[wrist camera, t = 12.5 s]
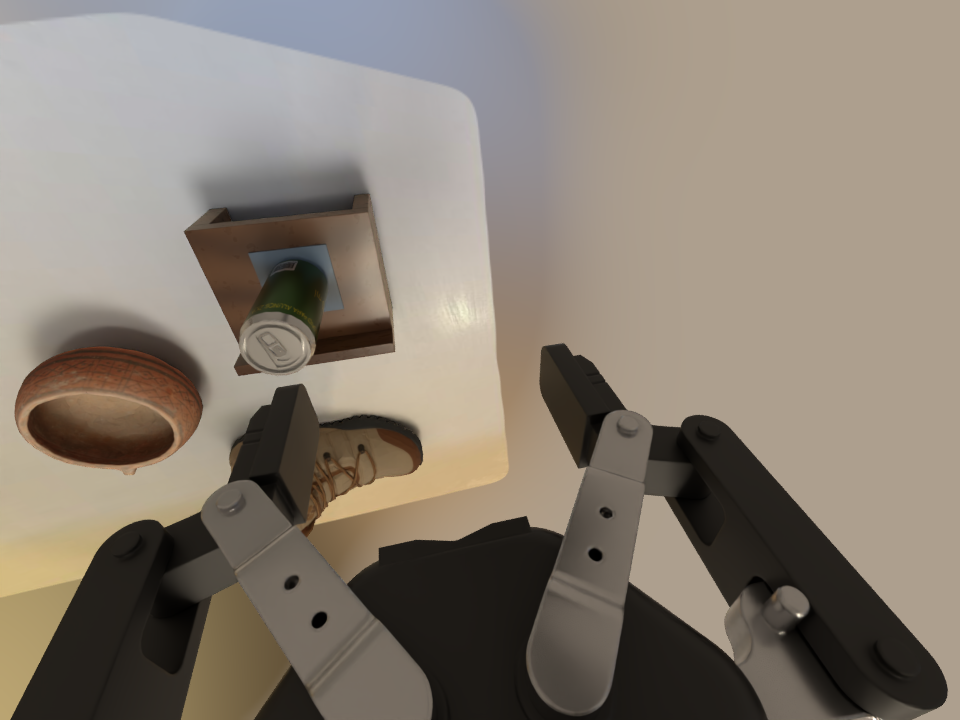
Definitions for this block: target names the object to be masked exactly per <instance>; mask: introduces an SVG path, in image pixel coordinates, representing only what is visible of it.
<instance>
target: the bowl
mask: <svg viewBox="0 0 960 720" xmlns="http://www.w3.org/2000/svg"><path fill="white" fill-rule="evenodd" d="M202 409H203V405H202V400H201V398H200V396H199V393H198V392H197V390H196V388H195V387H194V385H193V383H192V382H191V381H190V380H189V379H188V378H187V377H186V376H185V375H184V374H183V373H182V372H181V371H179V370H178V369H176V368H174V367H172V366H170V365H168V364H167V363H166V362H164V361H162V360H160V359H158V358H156V357H154V356H151V355H149V354H146V353H143V352H139V351H135V350H128V349H121V348H114V347H88V348H80V349H75V350H71V351H67V352H64V353H61V354H58V355H56V356H54V357H52V358H50V359H48V360H46V361H44V362H43V363H41V364H40V365H39V366H37V367H36V368H35V369H34V370H32V371H31V372H30V373H29V374H28V376H27V377H26V378H25V380H24V381H23V383H22V386H21V388H20V390H19V392H18V395H17V399H16V403H15V420H16V424H17V427H18V430H19V432H20V433H21V435H22V436H23V437H24V439H25V440H26V441H27V442H28V443H30V444H31V445H32V446H33V447H34V448H36V449H38V450H39V451H41V452H43V453H45V454H46V455H48V456H50V457H52V458H54V459H57V460H60V461H63V462H66V463H68V464H73V465H79V466H85V467H92V468H102V469H117V470H120V471H122V472H123V473H124V474H125V475H134V474H135V471H136V469H137V468H139V467H143V466H148V465H152V464H155V463H157V462H160V461H162V460H164V459H166V458H167V457H169V456H171V455H172V454H174V453H175V452H176V451H177V450H178V449H179V448H181V447H182V446H183V445H184V444H185V443H186V442H187V440H188V439H189V438H190V437H191V436H192V434H193V433H194V432H195V430H196V428H197V427H198V424H199V422H200V419H201V415H202Z"/></svg>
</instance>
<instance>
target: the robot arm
mask: <svg viewBox="0 0 960 720" xmlns="http://www.w3.org/2000/svg"><path fill="white" fill-rule="evenodd" d="M540 389H541V394H542V397H543V399H544V401H545V403H546V405H547V407H548V409H549V411H550V413H551V414H552V417H553V419H554V421H555V423H556V425H557V427H558V429H559V431H560V433H561V435H562V437H563V439H564V441H565V443H566V445H567V447H568V449H569V451H570V453H571V455H572V457H573V459H574V461H575V463H576V465H577V467H578V468H584V467H587V468H586V470H585V473H584V477H583V479H582V483H581V486H580V489H579V492H578V495H577V498H576V501H575V504H574V507H573V510H572V513H571V516H570V519H569V523H568V526H567V529H566V532H565V535H564V536H563V535H561V534H559V533H556V532H554V531H550V530H547V529H543V528H537V527H530V525H529V522H528V519H527V516H524V517H520V518H515V519H511V520H506V521H501V522H497V523H492V524H490V525H488V526H486V527H484V528H482V529H480V530H478V531H476V532H474V533H472V534H470V535H468V536H466V537H464V538H462V539H459V540H456V541H436V540H414V541H409V542H404V543H400V544H395V545H391V546H386V547H382V548H379V561H377V562H375V563H373V564H372V565H370V566H368V567H367V568H365V569H364V570H362V571H361V572H360V573H359V574H357V575H356V576H355V577H354V578H353V579H352V580H351V581H350V582H349V583H348V584H347V585H346V583H345V582H344V581H343V580H342V579H341V577H340V576H339V575H338V574H337V573H336V572H335V570H334V569H333V568H332V567H331V566H330V565H329V564H328V562H327V561H326V560H325V559H324V558H323V556H322V555H321V554H320V553H319V552H318V551H317V549H316V548H315V547H314V546H313V545H312V544H311V542H310V541H309V540H308V539H307V538H306V536H305V535H304V534H303V533H302V532H301V531H300V530H299V528H298V527H297V526H296V525H298V524H303V523H306V520H307V513H308V507H309V500H310V494H311V487H312V481H313V475H314V468H315V462H316V455H317V449H318V442H319V435H320V430H319V422H318V418H317V416H316V413H315V411H314V408H313V406H312V403H311V401H310V398H309V396H308V393H307V391H306V388H305V386H304V385H303V384H297V385H291V386H284V387H278V388H277V389H276V391H275V394H274V397H273V400H272V403H271V405H265V406H261V408H260V409H259V410H258V411H257V412H256V413H255V414H254V416H253V417H252V418H251V420H250V422H249V425H248V428H247V431H246V433H247V434H245V436H244V439H243V442H242V443H243V445H241V448H240V450H239V453H238V456H237V459H236V462H235V464H234V467H233V470H232V473H231V476H230V478H229V481H228V484H227V485H225V486H223V487H221V488H219V489H218V490H217V491H215V492H214V493H213V494H212V495H211V496H210V497H209V498H208V499H207V501H206V502H205V504H204V505H203V507H202V510H201V512H199V513H197V514H195V515H193V516H190V517H188V518H186V519H183V520H181V521H179V522H177V523H174V524H172V525H170V526H167V527H165V528H164V527H163V526H162V525H161V524H160V523H159V522H158V521H155V520H141V521H138V522H134V523H132V524H129V525H127V526H125V527H123V528H122V529H120V530H119V531H117V532H116V533H114V534H113V535H112V536H110V537H109V538H108V539H107V540H106V541H105V542H104V543H103V544H102V545H101V547H100V548H99V549H98V551H97V552H96V554H95V556H94V558H93V560H92V562H91V564H90V566H89V567H88V569H87V571H86V573H85V575H84V577H83V579H82V581H81V583H80V585H79V587H78V589H77V591H76V593H75V595H74V597H73V599H72V601H71V603H70V604H69V607H68V608H67V610H66V612H65V614H64V616H63V618H62V620H61V622H60V624H59V626H58V628H57V630H56V632H55V634H54V636H53V638H52V640H51V642H50V644H49V645H48V647H47V649H46V651H45V653H44V655H43V657H42V659H41V661H40V663H39V665H38V667H37V669H36V671H35V673H34V675H33V677H32V679H31V680H30V683H29V684H28V686H27V688H26V690H25V692H24V694H23V696H22V698H21V700H20V702H19V704H18V706H17V708H16V710H15V712H14V714H13V716H12V718H11V720H181V716H182V712H183V708H184V704H185V700H186V696H187V692H188V688H189V684H190V680H191V676H192V672H193V668H194V664H195V660H196V656H197V652H198V648H199V644H200V641H201V636H202V633H203V629H204V624H205V621H206V617H207V613H208V609H209V605H210V601H211V597H212V595H214V594H216V593H217V592H219V591H221V590H223V589H225V588H227V587H229V586H231V585H233V584H235V583H237V582H239V583H240V585H241V586H242V588H243V590H244V591H245V593H246V594H247V596H248V597H249V599H250V601H251V602H252V604H253V605H254V607H255V608H256V610H257V611H258V613H259V615H260V616H261V618H262V619H263V621H264V622H265V624H266V626H267V627H268V628H269V630H270V632H271V633H272V635H273V636H274V638H275V640H276V641H277V643H278V644H279V646H280V648H281V649H282V651H283V652H284V654H285V655H286V657H287V659H288V660H289V662H290V663H291V666H290V667H289V669H288V670H287V672H286V673H285V675H284V676H283V678H282V679H281V681H280V682H279V683H278V685H277V686H276V688H275V689H274V691H273V692H272V694H271V695H270V697H269V698H268V700H267V701H266V703H265V704H264V705H263V707H262V708H261V710H260V711H259V713H258V714H257V716H256V717H255V719H254V720H912V719H914V718H917V717H919V716H921V715H923V714H925V713H928V712H930V711H932V710H934V709H937V708H938V707H940V706H942V705H943V704H944V702H945V701H946V698H947V691H948V689H947V684H946V680H945V678H944V675H943V673H942V671H941V669H940V667H939V666H938V664H937V663H936V661H935V660H934V658H933V657H932V656H931V655H930V653H929V652H928V651H927V650H926V649H925V648H924V647H923V645H922V644H921V643H920V642H919V641H918V640H917V639H916V638H915V636H914V635H913V634H912V633H911V632H910V631H909V630H908V628H907V627H906V626H905V625H904V624H903V623H902V622H901V621H900V619H899V618H898V617H897V616H896V615H895V614H894V613H893V612H892V611H891V609H890V608H889V607H888V606H887V605H886V604H885V603H884V601H883V600H882V599H881V598H880V597H879V596H878V595H877V594H876V592H875V591H874V590H873V589H872V588H871V587H870V586H869V584H868V583H867V582H866V581H865V580H864V579H863V578H862V577H861V576H860V574H859V573H858V572H857V571H856V570H855V569H854V567H853V566H852V565H851V564H850V563H849V562H848V561H847V560H846V558H845V557H844V556H843V555H842V554H841V553H840V552H839V551H838V550H837V548H836V547H835V546H834V545H833V544H832V543H831V542H830V540H829V539H828V538H827V537H826V536H825V535H824V534H823V533H822V531H821V530H820V529H819V528H818V527H817V526H816V525H815V524H814V522H813V521H812V520H811V519H810V518H809V517H808V516H807V515H806V513H805V512H804V511H803V510H802V509H801V508H800V507H799V505H798V504H797V503H796V502H795V501H794V500H793V499H792V498H791V496H790V495H789V494H788V493H787V492H786V491H785V490H784V488H783V487H782V486H781V485H780V484H779V483H778V482H777V481H776V479H775V478H774V477H773V476H772V475H771V474H770V473H769V472H768V470H766V468H765V467H764V466H763V465H762V464H761V462H760V461H759V460H758V459H757V458H756V457H755V456H754V455H753V454H752V452H751V451H750V450H749V449H748V448H747V447H746V446H745V445H744V443H743V442H742V441H741V440H740V439H739V438H738V437H737V436H736V434H735V433H734V432H733V431H732V430H731V429H730V428H729V427H728V426H727V425H726V424H725V423H723V422H721V421H720V420H718V419H715V418H712V417H709V416H704V415H694V416H690V417H687V418H686V419H685V420H684V421H683V422H682V425H681V428H680V427H665V426H655V425H651V424H650V422H649V421H648V420H647V419H646V418H645V417H643V416H642V415H640V414H638V413H636V412H633V411H628V410H627V409H626V408H625V407H624V405H623V404H622V403H621V401H620V400H619V398H618V397H617V396H616V394H615V393H614V392H613V390H612V389H611V388H610V386H609V385H608V383H606V382H605V379H604V378H603V376H602V375H601V374H600V373H599V371H598V370H597V368H596V367H595V365H594V364H593V363H592V362H591V361H589V360H588V359H586V358H585V357H583V356H581V355H577V356H573V355H572V353H571V352H570V350H569V349H568V348H567V346H566V345H565V344H563V343H562V344H555V345H549V346H544V347H542V350H541V364H540ZM644 494H645V495H655V496H664V497H665V499H666V500H667V502H668V504H669V505H670V507H671V509H672V511H673V512H674V514H675V516H676V517H677V519H678V521H679V522H680V524H681V526H682V527H683V529H684V531H685V532H686V534H687V536H688V538H689V539H690V541H691V543H692V544H693V546H694V548H695V549H696V551H697V553H698V554H699V556H700V558H701V559H702V561H703V563H704V564H705V566H706V568H707V570H708V571H709V573H710V575H711V576H712V578H713V580H714V581H715V583H716V585H717V586H718V588H719V590H720V591H721V593H722V595H723V597H724V598H725V600H726V602H727V603H728V605H729V607H730V608H729V610H728V611H727V613H726V616H725V629H726V633H727V636H728V638H729V641H730V643H731V645H732V649H733V652H734V661H733V660H732V659H731V658H730V657H729V656H728V655H727V654H726V653H725V652H724V651H723V650H722V649H720V648H719V647H718V646H717V645H716V644H714V643H713V642H711V641H710V640H709V639H707V638H706V637H705V636H703V635H702V634H700V633H699V632H698V631H696V630H695V629H693V628H692V627H691V626H689V625H688V624H686V623H685V622H684V621H682V620H681V619H680V618H678V617H677V616H675V615H674V614H673V613H671V612H670V611H669V610H667V609H666V608H665V607H663V606H662V605H660V604H659V603H658V602H656V601H655V600H653V599H652V598H651V597H649V596H648V595H646V594H645V593H644V592H642V591H641V590H640V589H638V588H637V587H636V586H634V585H633V584H631V583H630V582H629V575H630V570H631V564H632V559H633V552H634V547H635V542H636V536H637V531H638V525H639V519H640V514H641V508H642V502H643V497H644Z"/></svg>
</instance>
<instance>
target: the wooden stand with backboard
mask: <svg viewBox="0 0 960 720" xmlns="http://www.w3.org/2000/svg"><path fill="white" fill-rule="evenodd" d="M184 233H185V235H186V237H187V239H188V241H189V243H190V245H191V247H192V249H193V251H194V253H195V255H196V257H197V259H198V261H199V264H200V266H201V268H202V270H203V272H204V274H205V276H206V278H207V280H208V282H209V284H210V286H211V288H212V290H213V292H214V294H215V296H216V298H217V301H218V303H219V305H220V307H221V309H222V311H223V313H224V315H225V317H226V319H227V321H228V323H229V325H230V327H231V329H232V331H233V333H234V335H235V338H236V340H237V342H238V344H239V342H240V340H239V336H240V329H241V327H242V325H243V323H244V321H245V320H246V318H247V316H248V314H249V312H250V310H251V308H252V306H253V304H254V302H255V301H256V299H257V297H258V295H259V293H260V291H261V289H262V287H263V285H264V283H265V282H266V280H267V278H268V276H269V274H270V272H271V271H272V269H273V268H274V266H276V265H277V264H279V263H280V262H282V261H286V260H289V259H294V260H303V261H306V262H309V263H311V264H313V265H314V266H316V267H317V268H318V269H319V270H320V271H321V272H322V273H323V274H324V276H325V278H326V280H327V283H328V293H327V298H326V302H325V307H324V311H323V316H322V320H321V325H320V329H319V334H318V338H317V343H316V347H315V351H314V355H313V356H312V357H311V359H310V360H309V361H308V363H307V364H306V365H305V366H307V365H313V364H320V363H326V362H333V361H339V360H346V359H352V358H359V357H365V356H372V355H378V354H385V353H392V352H395V341H394V325H393V310H392V304H391V299H390V294H389V289H388V284H387V278H386V273H385V268H384V263H383V258H382V253H381V248H380V243H379V238H378V233H377V228H376V223H375V218H374V213H373V208H372V203H371V198H370V194H360V195H355V196H354V202H353V208H352V209H349V210H339V211H329V212H320V213H310V214H300V215H291V216H281V217H271V218H262V219H252V220H242V221H233V222H232V220H231V218H230V216H229V213H228V211H227V208H218V209H210V210H209V211H207V212H206V213H205V214H204V215H203V216H202V217H200V218H199V219H198V220H197V221H196V222H195V223H193V224H192V225H191V226H190V227H189V228H187V229H186V230H185V231H184ZM234 368H235V370H236V372H237V374H238V376H241V375H248V374H254V373H261V371H259V370H256V369H255V368H253V367H252V366H251V365H249V364H248V363H247V362H246V360H245V359H244V358H243V356H242V355H241V353H240V355H239V357H238V359H237V361H236V364H235V366H234Z"/></svg>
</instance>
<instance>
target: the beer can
mask: <svg viewBox="0 0 960 720" xmlns="http://www.w3.org/2000/svg"><path fill="white" fill-rule="evenodd" d="M327 293H328V283H327V280H326V278H325V276H324V274H323V273H322V272H321V271H320V270H319V269H318V268H317V267H316V266H314V265H313V264H311V263H309V262H306V261H303V260H294V259H289V260H286V261H282V262H280V263H279V264H277V265H276V266H274V268H273V269H272V271H271V272H270V274H269V276H268V278H267V280H266V282H265V283H264V285H263V287H262V289H261V291H260V293H259V295H258V297H257V299H256V301H255V302H254V304H253V306H252V308H251V310H250V312H249V314H248V316H247V318H246V320H245V321H244V323H243V325H242V327H241V329H240V336H239V340H240V342H239V348H240V352H241V355H242V356H243V358H244V359H245V360H246V362H247V363H248V364H249V365H251V366H252V367H253V368H255V369H256V370H259V371H261V372H263V373H266V374H271V375H289V374H292V373H296V372H298V371H299V370H301V369H302V368H304V367H305V365H306V364H307V363H308V361H309V360H310V359H311V357H312V356H313V355H314V351H315V347H316V343H317V338H318V334H319V329H320V325H321V320H322V316H323V311H324V307H325V302H326V298H327Z"/></svg>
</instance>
